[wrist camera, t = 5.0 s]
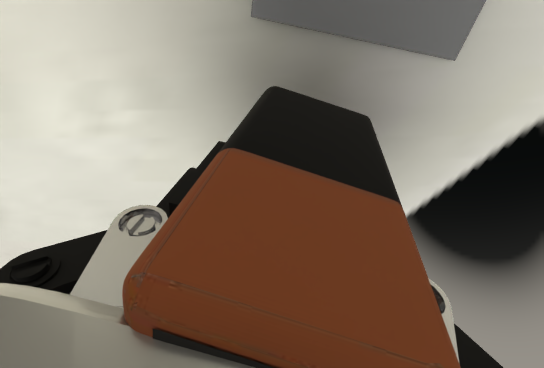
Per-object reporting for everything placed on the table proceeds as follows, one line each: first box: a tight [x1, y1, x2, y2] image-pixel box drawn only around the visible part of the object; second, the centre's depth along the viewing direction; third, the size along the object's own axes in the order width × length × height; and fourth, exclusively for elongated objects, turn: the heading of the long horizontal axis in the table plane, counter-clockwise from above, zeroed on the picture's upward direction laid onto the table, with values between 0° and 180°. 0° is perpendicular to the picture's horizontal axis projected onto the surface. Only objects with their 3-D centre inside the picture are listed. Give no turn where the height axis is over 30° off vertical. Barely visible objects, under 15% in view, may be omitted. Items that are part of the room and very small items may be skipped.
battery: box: [122, 86, 461, 368], centre depth 8 cm, size 4×7×10 cm, turn 165°
